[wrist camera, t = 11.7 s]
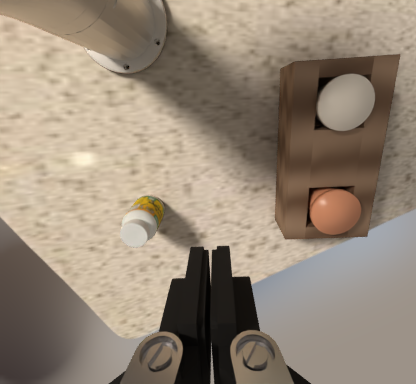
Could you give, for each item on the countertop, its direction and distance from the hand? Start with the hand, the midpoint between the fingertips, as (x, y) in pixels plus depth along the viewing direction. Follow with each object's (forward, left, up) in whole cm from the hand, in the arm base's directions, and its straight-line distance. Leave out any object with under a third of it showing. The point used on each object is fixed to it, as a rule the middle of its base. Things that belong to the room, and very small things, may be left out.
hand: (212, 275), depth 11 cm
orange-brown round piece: (+8, +16, -28) cm, 33 cm away
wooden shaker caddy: (+1, +16, -31) cm, 35 cm away
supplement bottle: (+10, -12, -31) cm, 35 cm away
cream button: (-6, +16, -29) cm, 33 cm away
